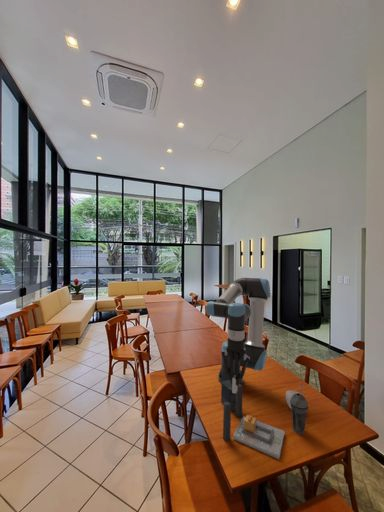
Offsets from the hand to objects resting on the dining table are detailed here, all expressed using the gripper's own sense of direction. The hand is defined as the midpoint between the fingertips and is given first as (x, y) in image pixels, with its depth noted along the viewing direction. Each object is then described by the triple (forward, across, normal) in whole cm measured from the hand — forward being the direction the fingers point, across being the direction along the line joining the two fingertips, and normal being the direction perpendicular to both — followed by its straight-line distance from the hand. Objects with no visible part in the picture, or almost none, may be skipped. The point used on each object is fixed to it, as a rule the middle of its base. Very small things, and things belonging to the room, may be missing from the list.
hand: (234, 391), depth 99 cm
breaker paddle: (+14, +7, 0) cm, 15 cm away
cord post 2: (+15, 0, +8) cm, 18 cm away
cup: (+16, +21, +30) cm, 39 cm away
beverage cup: (+16, +25, +14) cm, 32 cm away
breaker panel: (+16, +11, 0) cm, 19 cm away
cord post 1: (+16, 0, -8) cm, 17 cm away
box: (+16, -7, +14) cm, 22 cm away
